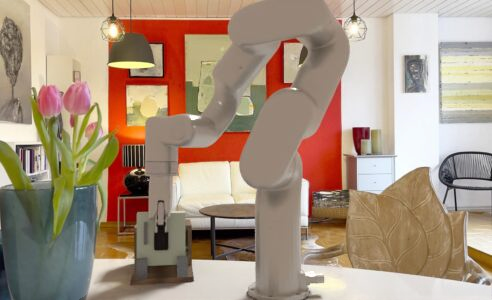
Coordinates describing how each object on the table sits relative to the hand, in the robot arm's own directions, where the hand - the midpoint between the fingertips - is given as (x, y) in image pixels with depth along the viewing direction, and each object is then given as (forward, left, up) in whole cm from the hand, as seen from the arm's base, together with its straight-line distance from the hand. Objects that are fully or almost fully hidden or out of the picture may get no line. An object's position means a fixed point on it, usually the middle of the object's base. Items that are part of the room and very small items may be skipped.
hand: (161, 247), depth 97 cm
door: (0, 0, -4) cm, 4 cm away
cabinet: (0, -6, -7) cm, 10 cm away
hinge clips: (0, 0, -7) cm, 7 cm away
